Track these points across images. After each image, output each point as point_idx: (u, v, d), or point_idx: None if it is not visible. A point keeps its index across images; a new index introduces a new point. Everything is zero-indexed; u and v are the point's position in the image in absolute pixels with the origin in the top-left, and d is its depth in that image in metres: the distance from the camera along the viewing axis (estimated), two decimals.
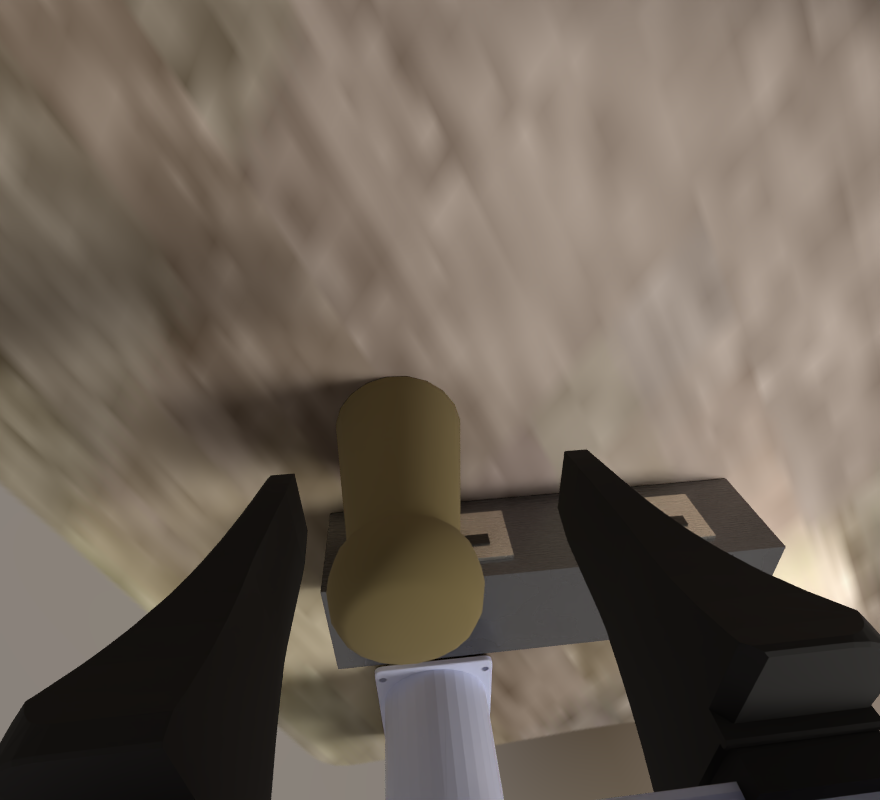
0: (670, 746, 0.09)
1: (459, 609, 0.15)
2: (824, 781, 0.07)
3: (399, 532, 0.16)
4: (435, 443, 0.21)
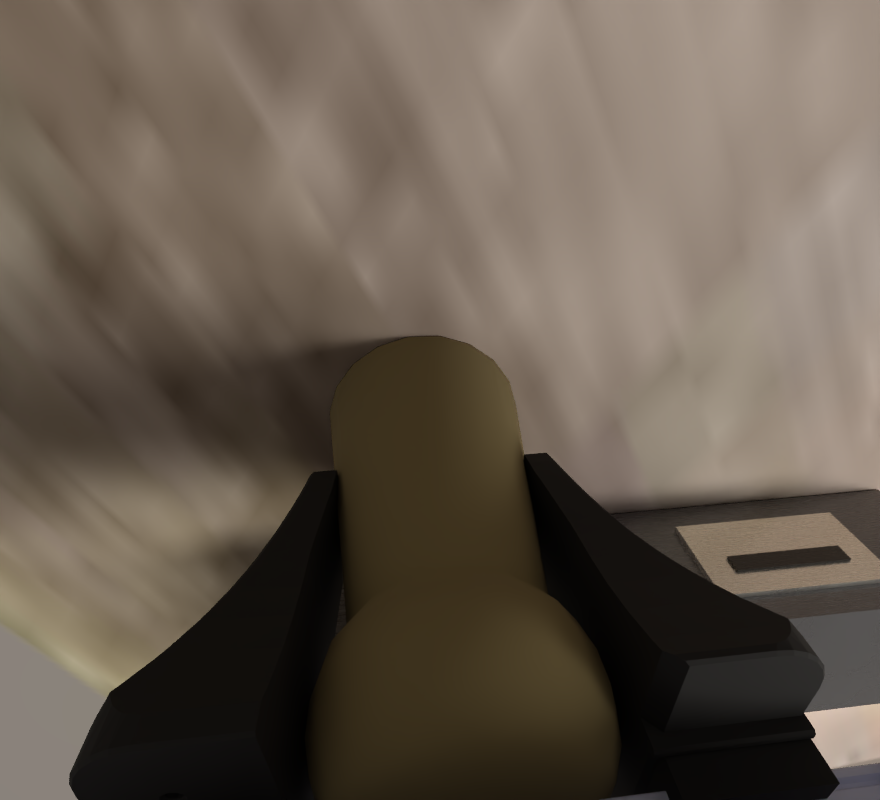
0: None
1: (587, 791, 0.07)
2: (751, 791, 0.07)
3: (455, 623, 0.07)
4: (494, 439, 0.12)
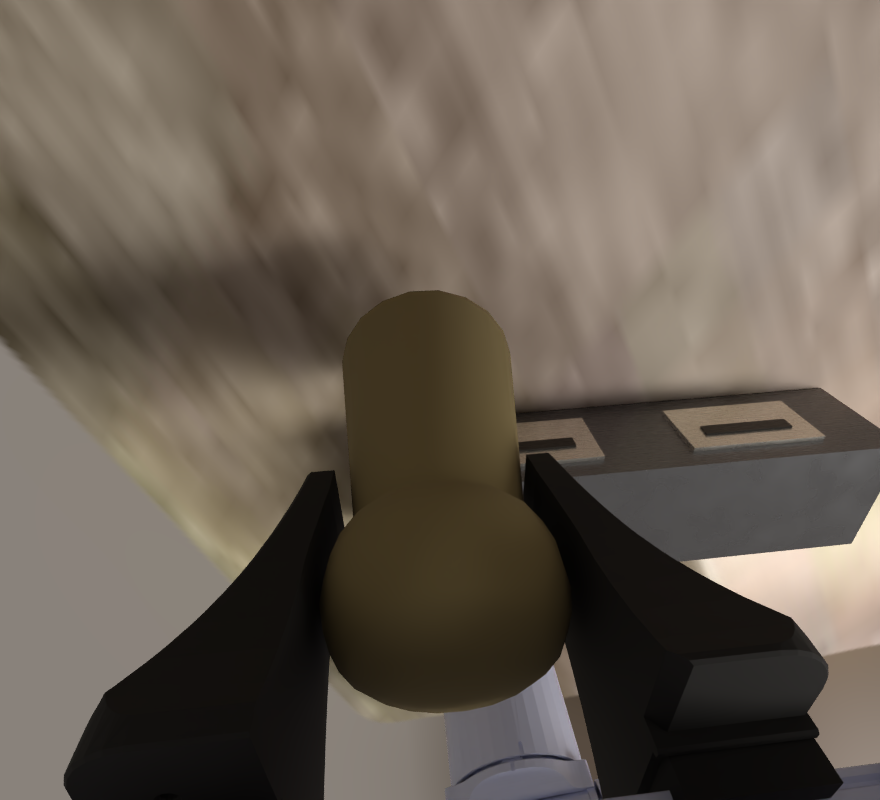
0: (614, 753, 0.09)
1: (536, 637, 0.09)
2: (754, 790, 0.07)
3: (433, 510, 0.09)
4: (482, 378, 0.14)
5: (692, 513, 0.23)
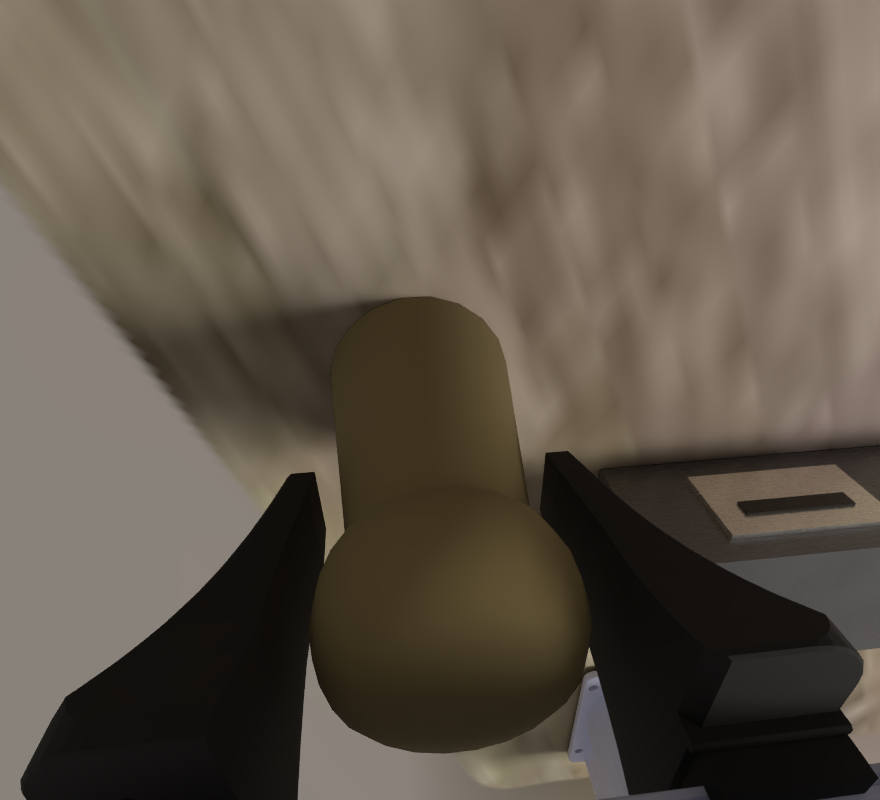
0: (642, 750, 0.09)
1: (557, 659, 0.08)
2: (791, 786, 0.07)
3: (436, 517, 0.08)
4: (480, 383, 0.13)
5: None
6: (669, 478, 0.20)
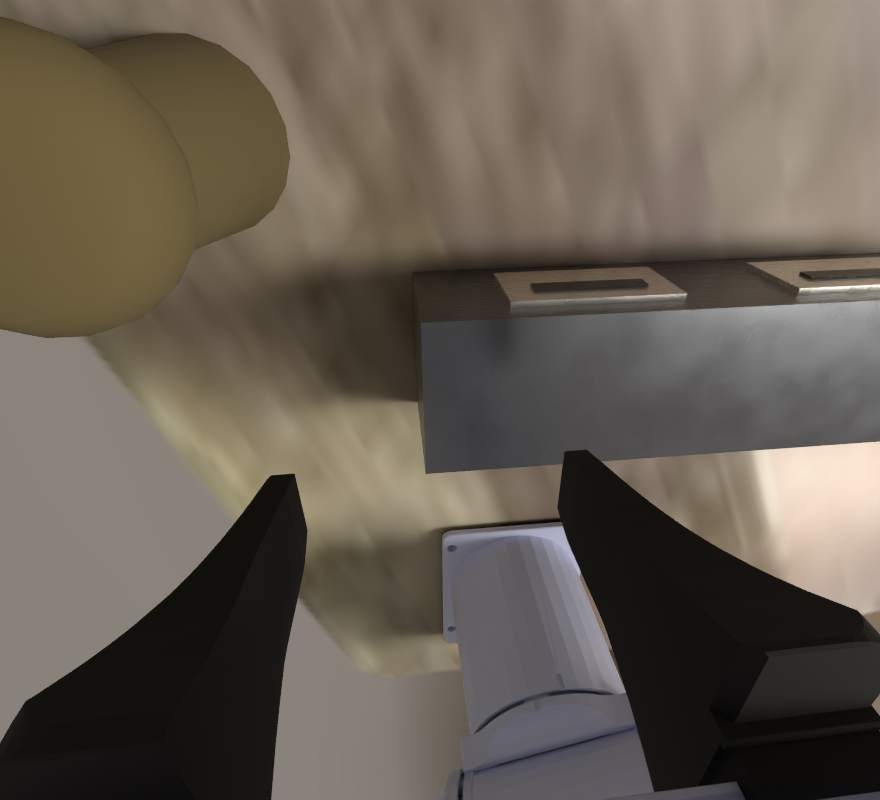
0: (670, 746, 0.09)
1: (65, 151, 0.08)
2: (824, 781, 0.07)
3: None
4: (185, 67, 0.13)
5: (790, 378, 0.18)
6: (477, 277, 0.19)
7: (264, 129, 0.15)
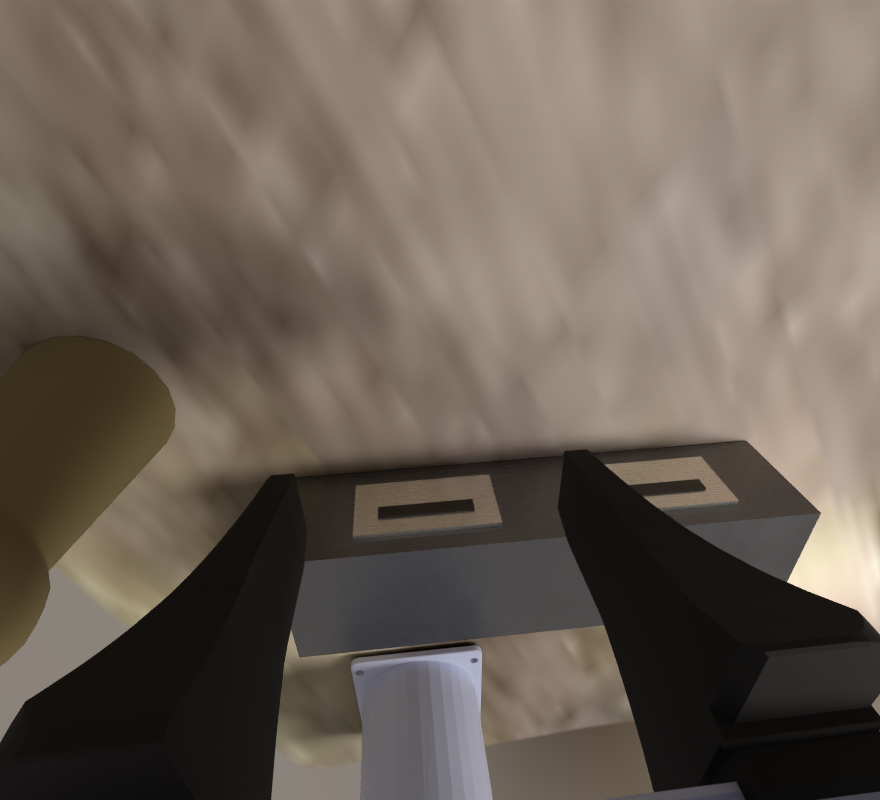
0: (669, 746, 0.09)
1: None
2: (824, 781, 0.07)
3: None
4: (59, 412, 0.16)
5: None
6: (344, 486, 0.23)
7: (140, 416, 0.19)
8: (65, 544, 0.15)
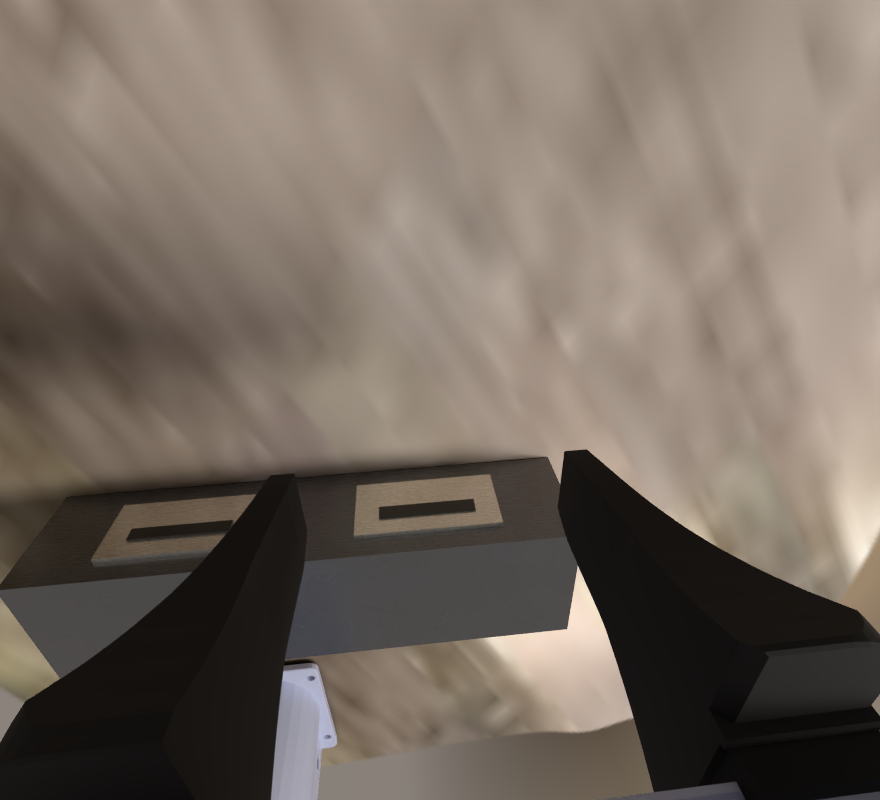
0: (670, 746, 0.09)
1: None
2: (824, 781, 0.07)
3: None
4: None
5: (364, 603, 0.21)
6: (115, 506, 0.22)
7: None
8: None
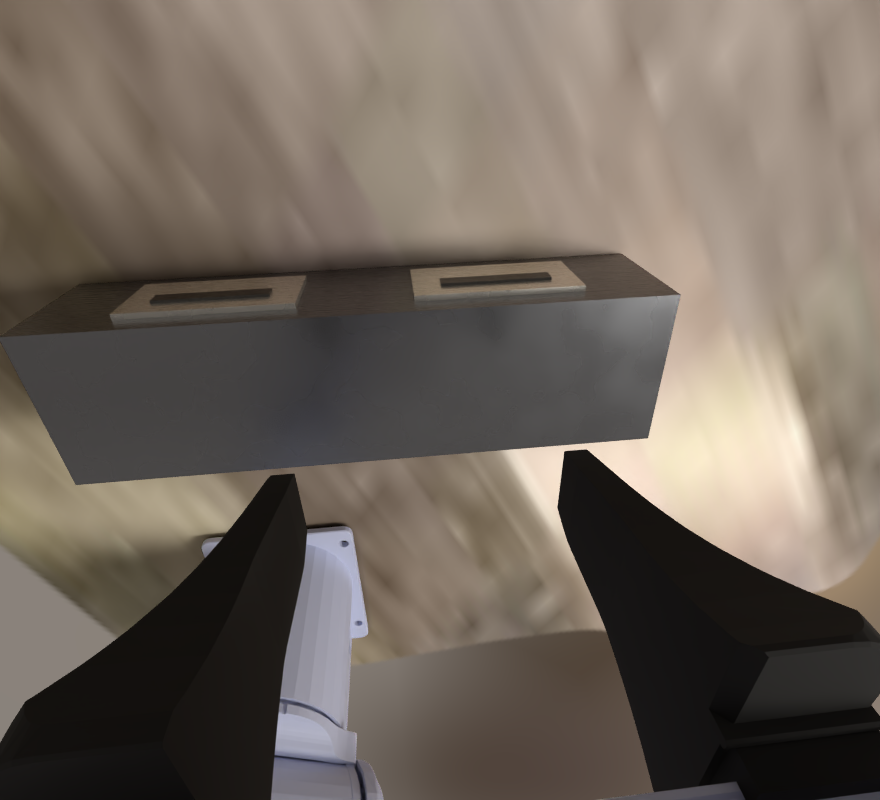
0: (670, 746, 0.09)
1: None
2: (824, 781, 0.07)
3: None
4: None
5: (423, 385, 0.18)
6: (134, 288, 0.20)
7: None
8: None
